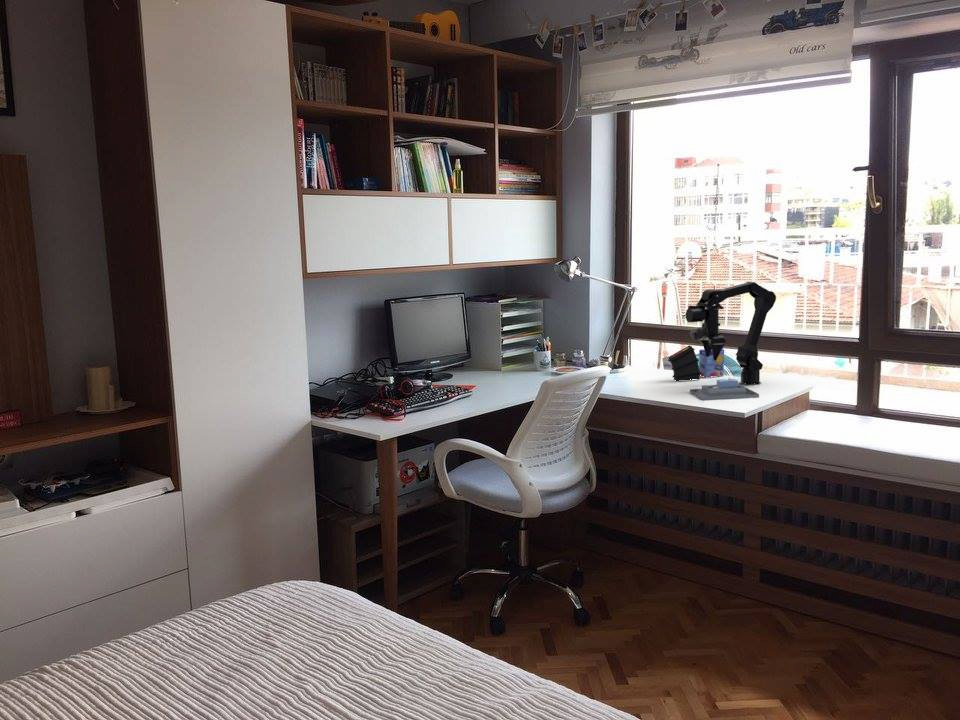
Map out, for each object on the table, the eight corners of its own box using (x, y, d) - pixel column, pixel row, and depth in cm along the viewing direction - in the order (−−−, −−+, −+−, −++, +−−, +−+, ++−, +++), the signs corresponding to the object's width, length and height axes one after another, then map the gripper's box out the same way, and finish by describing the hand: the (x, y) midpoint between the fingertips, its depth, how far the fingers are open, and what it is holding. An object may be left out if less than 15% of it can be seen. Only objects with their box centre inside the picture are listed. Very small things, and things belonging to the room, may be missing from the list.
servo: (734, 390, 320) (734, 376, 320) (737, 391, 316) (737, 378, 316) (711, 391, 320) (711, 378, 319) (715, 393, 316) (715, 379, 315)
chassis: (743, 389, 327) (743, 381, 326) (759, 397, 311) (759, 388, 310) (689, 392, 326) (689, 384, 325) (702, 400, 310) (702, 392, 310)
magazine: (707, 375, 351) (692, 345, 348) (681, 390, 350) (666, 360, 347) (703, 374, 355) (689, 344, 352) (677, 389, 354) (663, 359, 351)
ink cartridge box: (706, 378, 354) (705, 345, 352) (698, 376, 359) (698, 344, 357) (724, 376, 357) (724, 343, 355) (716, 374, 363) (716, 342, 360)
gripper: (685, 319, 339) (685, 356, 341) (698, 324, 321) (699, 363, 323) (711, 318, 339) (711, 354, 342) (726, 322, 321) (726, 361, 323)
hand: (711, 358), depth 332 cm, fingers open, 9 cm apart
